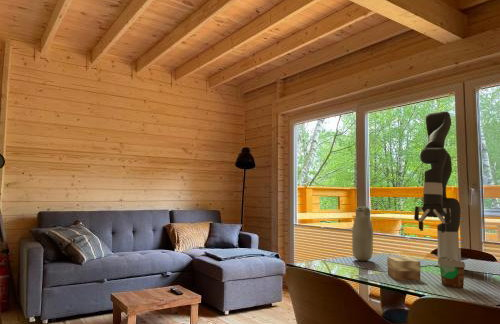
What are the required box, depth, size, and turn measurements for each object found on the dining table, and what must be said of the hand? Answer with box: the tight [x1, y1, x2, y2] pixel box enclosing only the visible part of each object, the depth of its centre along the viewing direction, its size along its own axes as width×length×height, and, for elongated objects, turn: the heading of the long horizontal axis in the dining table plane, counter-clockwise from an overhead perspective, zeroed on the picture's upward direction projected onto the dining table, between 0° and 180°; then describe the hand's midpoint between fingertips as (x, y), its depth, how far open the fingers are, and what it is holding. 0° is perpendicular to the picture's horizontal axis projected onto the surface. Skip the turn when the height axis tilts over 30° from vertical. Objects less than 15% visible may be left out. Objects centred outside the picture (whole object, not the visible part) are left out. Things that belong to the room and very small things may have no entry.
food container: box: [437, 257, 466, 289], centre depth 154 cm, size 12×6×10 cm, turn 5°
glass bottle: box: [351, 205, 374, 262], centre depth 207 cm, size 10×10×28 cm
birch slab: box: [386, 256, 421, 272], centre depth 166 cm, size 10×10×4 cm
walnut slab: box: [387, 266, 421, 282], centre depth 166 cm, size 10×10×4 cm
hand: (432, 231), depth 170 cm, fingers open, 8 cm apart
